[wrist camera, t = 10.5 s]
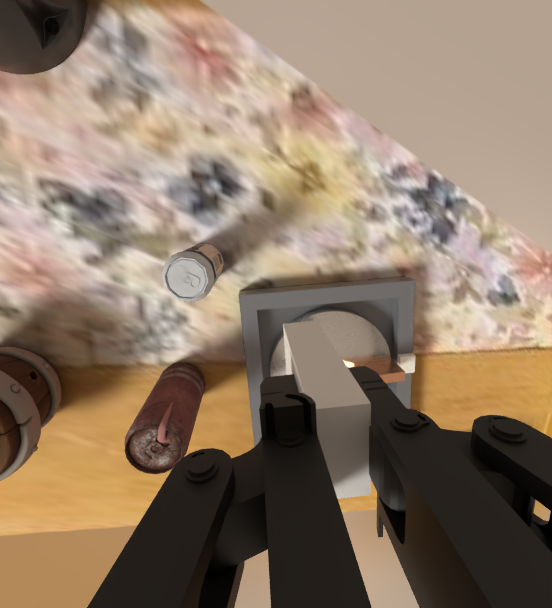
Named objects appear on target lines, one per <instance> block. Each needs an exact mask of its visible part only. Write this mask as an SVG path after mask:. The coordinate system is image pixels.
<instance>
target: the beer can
mask: <svg viewBox="0 0 552 608" xmlns="http://www.w3.org/2000/svg"><path fill="white" fill-rule="evenodd" d="M223 266H224V261H223V257H222V255H221V253H220V252H219V250H218V249H216V248H215V247H214V246H212V245H209V244H198V245H195V246H193V247H191V248H189V249H187V250H184V251H182V252H179V253H177V254H175V255H173V256H171V257H170V258H169V259H168V260H167V261H166V263H165V265H164V267H163V271H162V279H163V283H164V286H165V288H166V289H167V291H168V292H169V293H170V294H171V295H172V296H173V297H175V298H177V299H179V300H182V301H185V302H194V301H198V300H200V299H202V298H204V297H205V296H206V295H207V294H208V293H209V292H210V290H211V289H212V287H213V285H214V283H215V282H216V280H217V278H218V277H219V275H220V274H221V272H222V270H223Z"/></svg>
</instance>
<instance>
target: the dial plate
mask: <svg viewBox="0 0 552 608" xmlns="http://www.w3.org/2000/svg"><path fill="white" fill-rule="evenodd" d="M414 298H415V280H413V279H410V278H407V277H392V278H381V279H369V280H357V281H346V282H334V283H323V284H311V285H299V286H288V287H276V288H265V289H253V290H241V291H240V292H239V302H240V311H241V321H242V330H243V340H244V350H245V359H246V369H247V378H248V388H249V397H250V407H251V416H252V426H253V435H254V445H255V446H256V445H257V444H258V443H259V441H260V439H261V437H262V434H261V424H260V414H259V408H260V404H261V395H260V384H261V383H262V381H263V380H264V379H265V377H271V376H270V356H271V352H272V349H273V346H274V344H275V342H276V340H277V338H278V336H279V335H280V334H281V332H282V331H283V324H285V323H291V322H292V321H293V320H295V319H296V318H298V317H299V316H301V315H303V314H305V313H307V312H310V311H313V310H317V309H321V308H341V309H347V310H350V311H353V312H355V313H357V314H359V315H361V316H362V317H364V318H365V319H367V320H368V321H369V322H370V323H371V324H372V325H374V326H375V327H376V328H377V329H378V330H379V332H380V333H381V334H382V335H383V337H384V339H385V340H386V343H387V345H388V347H389V351H390V356H391V358H392V359H393V360H394V361H395V362H396V363H397V364H398V365H399V366H400V367H401V368H402V369H403V370H404V371H405V381H399V382H392V383H387V385H388V386H389V388H390V389H391V390H392V391H393V393H394V394H395V395H396V396H397V397H398V399H399V400H400V401H401V402H402V404H403V405H404V406H405V407H406V408H408V409H410V404H411V378H412V373H413V372H415V355H414V354H413V353H412V351H413V324H414Z"/></svg>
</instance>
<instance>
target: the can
mask: <svg viewBox="0 0 552 608" xmlns="http://www.w3.org/2000/svg"><path fill="white" fill-rule="evenodd" d="M204 388H205V380H204V377H203V375H202V373H201V372H200V371H199V370H198V369H197V368H196V367H194V366H192V365H190V364H185V363H178V364H174V365H171V366H169V367H168V368H167V369H165V370H164V371H163V373H162V375H161V376H160V378H159V380H158V381H157V383H156V385H155V386H154V388H153V390H152V391H151V393H150V395H149V397H148V398H147V400H146V402H145V403H144V405H143V407H142V408H141V410H140V412H139V413H138V415H137V417H136V419H135V420H134V422H133V424H132V425H131V427H130V429H129V431H128V433H127V435H126V437H125V454H126V457H127V459H128V461H129V462H130V464H131V465H132V466H134V467H135V468H136V469H138V470H139V471H142V472H145V473H149V474H160V473H165V472H167V471H169V470H171V469H173V468H174V467H175V465H176V464H177V463H178V462H179V461H180V460H181V459H182V458H184V456H185V454H186V452H187V449H188V445H189V442H190V438H191V435H192V431H193V428H194V424H195V421H196V417H197V414H198V410H199V407H200V403H201V400H202V396H203V392H204Z"/></svg>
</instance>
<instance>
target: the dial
mask: <svg viewBox="0 0 552 608" xmlns="http://www.w3.org/2000/svg"><path fill="white" fill-rule="evenodd" d="M306 321H318V323H319V324H320V326H321V328H322V329H323V331H324V332H325V334H326V335H327V337H328V338H329V340H330V341H331V343H332V344H333V346H334V347H335V349H336V351H337V352H338V354H339V355H340V357H341V358H342V360H343V361H344V363H345V364H346V366H347V367H348V368H349V367H358V366H367V367H368V368H370V369H372V370H374V371H376V372H377V373H378V374H379V376H380V377H381V378H382V379H383V382H385V383H386V384H387V383H392V382H399V381H405V371H404V370H403V369H402V368H401V367H400V366H399V365H398V364H397V363H396V362H395V361H394V360H393V359H392V358H391V356H390V351H389V347H388V345H387V343H386V340H385V339H384V337H383V335H382V334H381V333H380V332H379V330H378V329H377V328H376V327H375V326H374V325H372V324H371V323H370V322H369V321H368V320H367V319H365V318H364V317H362V316H361V315H359V314H357V313H355V312H353V311H350V310H347V309H341V308H321V309H317V310H313V311H310V312H307V313H305V314H303V315H301V316H299V317H298V318H296V319H295V320H293V321H292V322H291V323H296V322H306ZM281 375H287V374H286V359H285V345H284V331H282V332H281V334H280V335H279V336H278V338H277V340H276V342H275V344H274V346H273V349H272V352H271V356H270V376H281Z"/></svg>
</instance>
